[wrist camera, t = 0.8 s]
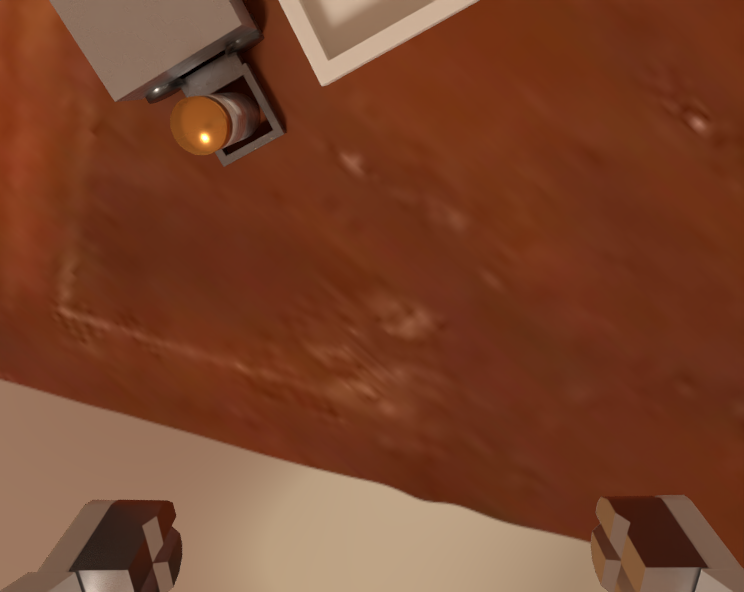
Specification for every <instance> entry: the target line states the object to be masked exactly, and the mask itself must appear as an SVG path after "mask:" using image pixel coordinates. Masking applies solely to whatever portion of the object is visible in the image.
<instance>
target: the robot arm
mask: <svg viewBox="0 0 744 592" xmlns="http://www.w3.org/2000/svg"><path fill="white" fill-rule="evenodd" d="M596 515H597V517H598V519H599V521H600V524H599V525H598V526H597V527H596V528H595V529H594V530H593V531H592V538H591V554H592V561H593V565H594V569H595V572H596V574H597V577H598V579H599V582H600V584H601V586H602V587H604V588H605V589H606V590H607V591H608V592H744V569H743V568H742V567H741V566H740V564H739V563H738V562H737V560H736V559H735V558H734V556H733V555H732V554H731V552H730V551H729V550H728V549H727V547H726V546H725V545H724V543H723V542H722V541H721V539H720V538H719V537H718V535H717V534H716V533H715V531H714V530H713V529H712V527H711V526H710V525H709V524H708V522H707V521H706V520H705V518H704V517H703V516H702V514H701V513H700V512H699V510H698V509H697V508H696V506H695V505H694V504H693V503H692V501H691V500H690V499H689V498H687V497H686V496H684V495H659V496H615V497H601V498H600V500H599V501H598V503H597V509H596ZM175 518H176V513H175V509H174V506H173V503H172V502H170V501H160V500H92V501H90V502H88V503H87V504H85V505H84V507H83V508H82V509H81V511H80V512H79V514H78V515H77V516H76V518H75V519H74V520H73V522H72V523H71V525H70V526H69V528H68V529H67V530H66V532H65V533H64V535H63V536H62V537H61V539H60V540H59V541H58V543H57V544H56V546H55V547H54V548H53V550H52V551H51V553H50V554H49V555H48V557H47V558H46V560H45V561H44V562H43V564H42V566H41V567H40V568H39V570H38V571H37V572H28V573H27V574H25V575H24V576H22V577H20V578H19V579H18V580H16V581H15V582H13V583H11V584H10V585H9V586H7V587H5V588H4V589H2V590H1V591H0V592H168V591H170V590H171V589H172V588H173V587H174V585H175V582H176V579H177V577H178V574H179V571H180V565H181V560H182V540H181V535H180V533H179V532H178V531H177V530H175V529H174V528H173V527H172V524H173V522H174V520H175Z"/></svg>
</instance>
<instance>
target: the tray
mask: <svg viewBox="0 0 744 592" xmlns="http://www.w3.org/2000/svg"><path fill="white" fill-rule="evenodd" d="M477 1H479V0H279V2H280V4H281V6H282V8H283V10H284V12H285V14H286V16H287V18H288V20H289V22H290V24H291V26H292V28H293V30H294V32H295V34H296V36H297V38H298V40H299V42H300V44H301V46H302V48H303V50H304V52H305V54H306V56H307V58H308V60H309V62H310V64H311V66H312V68H313V70H314V72H315V74H316V76H317V78H318V80H319V82H320V84H321V86H326V85H328V84H330V83H332V82H334V81H335V80H337V79H339V78H341V77H343V76H344V75H346V74H348V73H350V72H352V71H353V70H355V69H357V68H359V67H360V66H362V65H364V64H366V63H368V62H369V61H371V60H373V59H375V58H377V57H378V56H380V55H382V54H384V53H386V52H387V51H389V50H391V49H393V48H395V47H396V46H398V45H400V44H402V43H404V42H405V41H407V40H409V39H411V38H413V37H414V36H416V35H418V34H420V33H422V32H423V31H425V30H427V29H429V28H431V27H432V26H434V25H436V24H438V23H440V22H441V21H443V20H445V19H447V18H449V17H450V16H452V15H454V14H456V13H458V12H459V11H461V10H463V9H465V8H467V7H468V6H470V5H472V4H474V3H476V2H477Z"/></svg>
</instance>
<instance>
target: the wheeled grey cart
mask: <svg viewBox="0 0 744 592" xmlns="http://www.w3.org/2000/svg"><path fill="white" fill-rule="evenodd" d="M50 2H51V4H52V5H53V7H54V8H55V10H56V11H57V13H58V14H59V16H60V17H61V19H62V21H63V22H64V24H65V25H66V27H67V28H68V30H69V31H70V33H71V34H72V36H73V38H74V39H75V41H76V42H77V44H78V45H79V47H80V48H81V50H82V51H83V53H84V55H85V56H86V58H87V59H88V61H89V62H90V64H91V65H92V67H93V68H94V70H95V72H96V73H97V75H98V76H99V78H100V79H101V81H102V82H103V84H104V85H105V87H106V89H107V90H108V92H109V93H110V95H111V96H112V98H113V99H114V101H115V102H117V101H128V100H138V99H143V98H146V99H147V101H148V102H149V104H152V103H156V102H158V101H161V100H163V99H165V98H167V97H169V96H171V95H173V94H175V93H176V92H178V91H179V90H181V89H182V90H183V92H184V94H185V95H186V97H191V96H200V95H210V94H214V93H216V92H218V91H220V90H221V89H223V88H225V87H227V86H228V85H230V84H232V83H233V82H235V81H237V80H239V79H240V78H242V77H245V79H246V81H247V83H248V85H249V87H250V88H251V90H252V92H253V94H254V96H255V97H256V99H257V101H258V103H259V105H260V107H261V108H262V110H263V112H264V114H265V116H266V117H267V119H268V121H269V123H270V125H271V127H272V128H273V131H271V132H269V133H268V134H266V135H264V136H262V137H260V138H258V139H257V140H255V141H253V142H251V143H249V144H248V145H246V146H244V147H242V148H240V149H238V150H237V151H235V152H233V153H231V154H229V153H228V151H227V149H226V147H225V148H222V149H220V150H218V151H215V153H216V155H217V156H218V158H219V160H220V161H221V163H222V165H223V166H226V165H228V164H230V163H232V162H233V161H235V160H237V159H239V158H241V157H243V156H244V155H246V154H248V153H250V152H252V151H254V150H255V149H257V148H259V147H261V146H263V145H265V144H266V143H268V142H270V141H272V140H274V139H276V138H277V137H279V136H281V135H283V134H285V133H287V132H286V130H285V129H284V127H283V125H282V123H281V121H280V119H279V118H278V116H277V114H276V112H275V110H274V108H273V106H272V105H271V103H270V101H269V99H268V97H267V95H266V94H265V92H264V90H263V88H262V86H261V84H260V82H259V81H258V79H257V77H256V75H255V73H254V71H253V70H252V68H251V66H250V64H249V63H244V61H243V59H242V57H241V56H240V54H241V53H243V52H245V51H247V50H249V49H250V48H252V47H254V46H255V45H257V44H258V43H260V42H261V41H262V40H263V39H264V36H263V34H262V32H261V30H260V28H259V26H258V24H257V22H256V20H255V18H254V16H253V14H249V13H248V11H247V9H246V7H245V5H244V3H243V1H242V0H50ZM223 50H224V51H225V53H226V54H224V55H222V56H221V57H219V58H217V59H216V60H214V61H212V62H211V63H209V64H207V65H206V66H204V67H202V68H201V69H199V70H197V71H196V72H194V73H192V74H190V75H189V76H187V77H185V78H184V79H181V77H180V76H181V75H183V74H185V73H186V72H188V71H190V70H191V69H193V68H195V67H196V66H198V65H200V64H201V63H203V62H205V61H206V60H208V59H210V58H211V57H213V56H215V55H216V54H218V53H220V52H221V51H223Z"/></svg>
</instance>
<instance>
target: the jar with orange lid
mask: <svg viewBox="0 0 744 592" xmlns="http://www.w3.org/2000/svg"><path fill="white" fill-rule="evenodd" d="M259 123H260V112H259V109H258V107H257V105H256V103H255V102H254V100H253V99H252V98H251V97H249V96H248V95H246V94H244V93H241V92H228V93H219V94H210V95H200V96H191V97H187V98H184V99H182V100H181V101H179V102H178V103H177V104H176V105H175V107H174V108H173V110H172V113H171V117H170V126H171V131H172V134H173V136H174V138H175V140H176V141H177V142H178V144H179V145H180V146H181V147H182V148H184V149H185V150H186V151H188V152H190V153H193V154H196V155H207V154H211V153H213V152H215V151H218V150H220V149H222V148H225V147H227V146H229V145H232V144H234V143H236V142H239V141H241V140H243V139H246V138H248V137H250V136H251V135H253V134H254V133H255V132H256V130H257V129H258V127H259Z"/></svg>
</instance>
